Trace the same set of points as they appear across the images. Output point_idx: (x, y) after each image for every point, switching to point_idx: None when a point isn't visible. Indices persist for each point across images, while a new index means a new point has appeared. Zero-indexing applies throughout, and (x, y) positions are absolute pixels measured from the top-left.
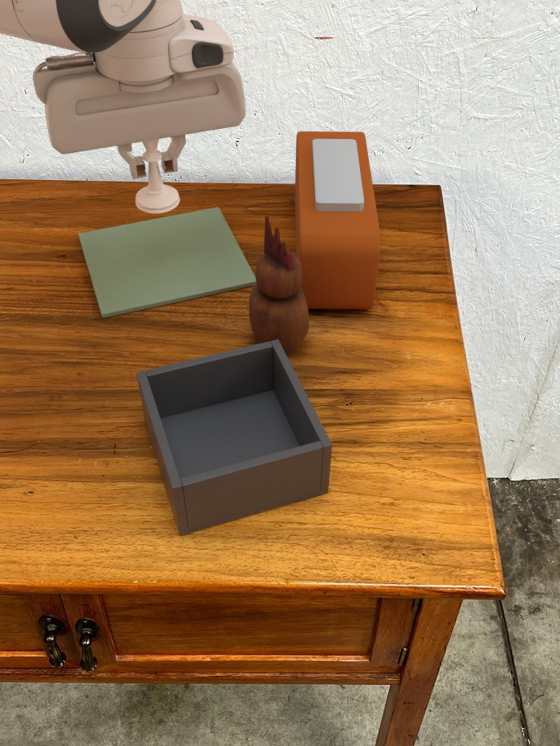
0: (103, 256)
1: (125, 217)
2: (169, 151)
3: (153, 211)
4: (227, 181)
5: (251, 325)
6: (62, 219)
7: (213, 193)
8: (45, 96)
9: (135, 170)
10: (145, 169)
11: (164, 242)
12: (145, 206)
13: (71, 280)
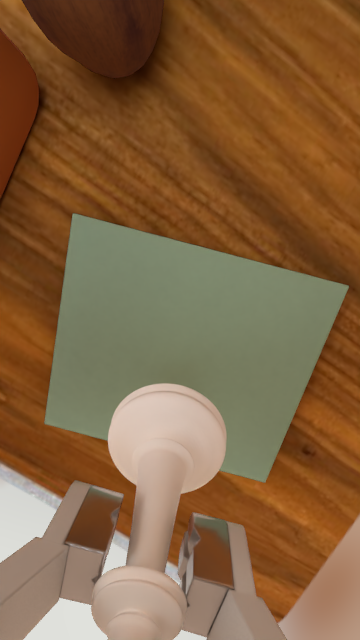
0: (262, 415)
1: None
2: (50, 593)
3: (203, 400)
4: (6, 471)
5: (159, 5)
6: (260, 521)
7: (37, 458)
8: None
9: (236, 560)
10: (194, 545)
11: None
12: (217, 423)
13: (328, 396)
